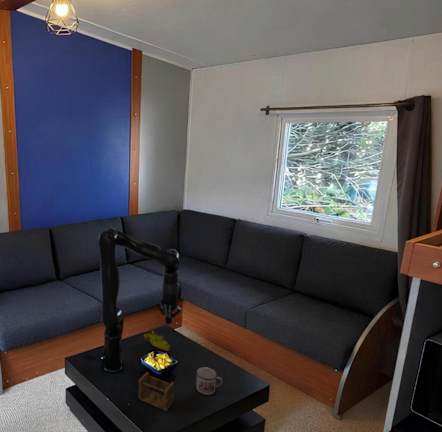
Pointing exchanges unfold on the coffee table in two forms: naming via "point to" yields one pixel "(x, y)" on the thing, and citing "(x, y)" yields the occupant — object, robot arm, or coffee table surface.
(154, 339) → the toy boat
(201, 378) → the teacup with lid
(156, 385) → the wooden caddy
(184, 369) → the coffee table surface
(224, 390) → the coffee table surface
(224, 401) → the coffee table surface
